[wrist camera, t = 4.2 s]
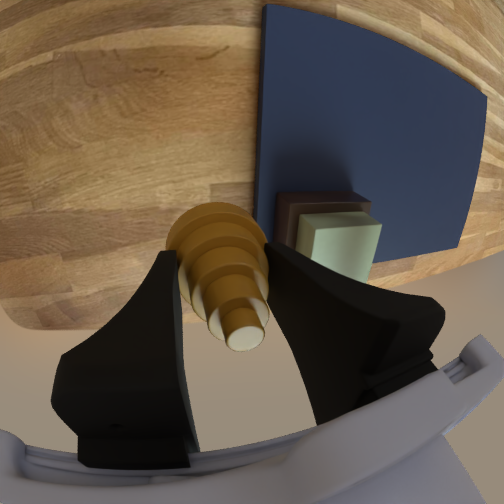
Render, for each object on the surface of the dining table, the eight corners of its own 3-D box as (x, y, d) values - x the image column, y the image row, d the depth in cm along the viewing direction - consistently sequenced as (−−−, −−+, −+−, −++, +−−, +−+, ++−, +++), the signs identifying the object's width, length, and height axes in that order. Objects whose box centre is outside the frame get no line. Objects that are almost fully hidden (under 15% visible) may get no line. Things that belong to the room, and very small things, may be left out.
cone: (214, 301, 14) (241, 393, 9) (145, 253, 12) (139, 351, 7) (278, 243, 13) (337, 321, 9) (215, 180, 11) (253, 244, 6)
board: (250, 275, 24) (253, 281, 23) (262, 7, 13) (266, 3, 13) (452, 244, 32) (457, 247, 31) (481, 95, 21) (487, 96, 20)
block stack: (269, 272, 23) (292, 310, 19) (276, 191, 20) (306, 218, 16) (339, 262, 25) (369, 293, 21) (353, 190, 22) (392, 214, 18)
